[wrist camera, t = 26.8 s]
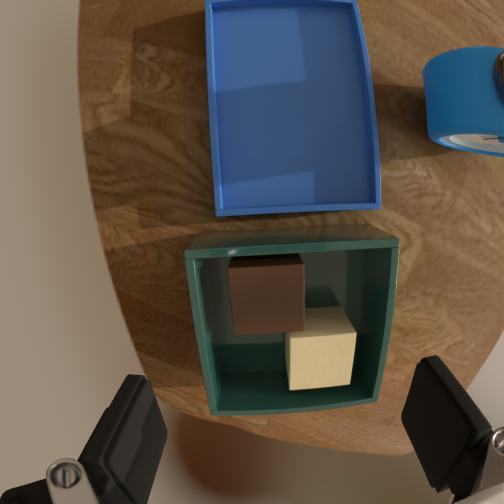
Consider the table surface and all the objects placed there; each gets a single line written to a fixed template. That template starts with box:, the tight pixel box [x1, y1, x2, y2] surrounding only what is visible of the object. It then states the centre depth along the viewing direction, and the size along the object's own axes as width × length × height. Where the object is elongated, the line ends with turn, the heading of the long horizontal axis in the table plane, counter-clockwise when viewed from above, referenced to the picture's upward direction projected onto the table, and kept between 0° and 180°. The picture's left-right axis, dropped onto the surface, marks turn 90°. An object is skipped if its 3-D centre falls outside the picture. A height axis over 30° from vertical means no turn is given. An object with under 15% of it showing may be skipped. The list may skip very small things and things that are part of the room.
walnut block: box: [228, 253, 305, 335], centre depth 23 cm, size 5×5×5 cm
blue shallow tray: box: [205, 0, 381, 217], centre depth 21 cm, size 19×13×2 cm
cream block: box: [285, 306, 357, 390], centre depth 24 cm, size 5×5×5 cm
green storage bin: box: [184, 224, 400, 415], centre depth 23 cm, size 14×14×6 cm
